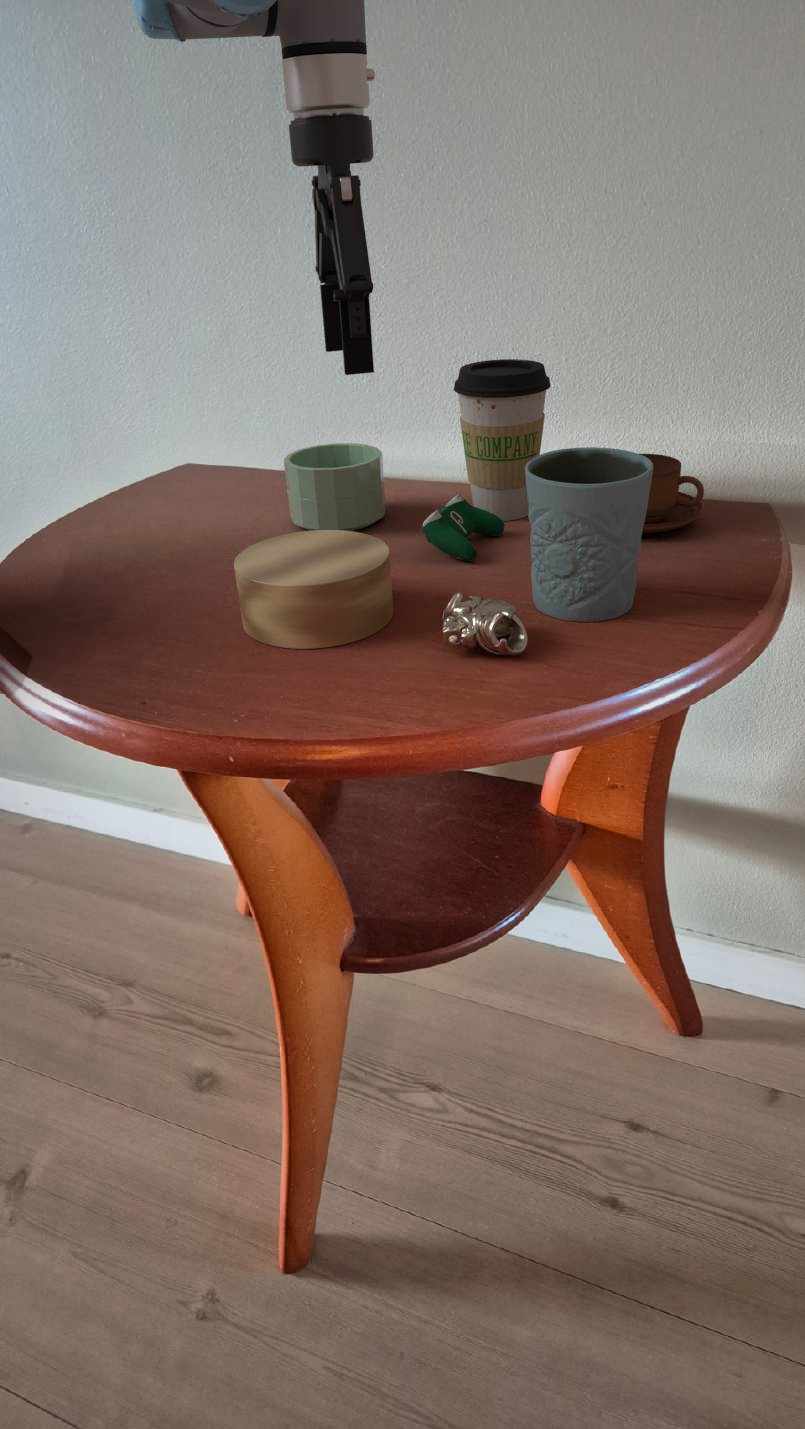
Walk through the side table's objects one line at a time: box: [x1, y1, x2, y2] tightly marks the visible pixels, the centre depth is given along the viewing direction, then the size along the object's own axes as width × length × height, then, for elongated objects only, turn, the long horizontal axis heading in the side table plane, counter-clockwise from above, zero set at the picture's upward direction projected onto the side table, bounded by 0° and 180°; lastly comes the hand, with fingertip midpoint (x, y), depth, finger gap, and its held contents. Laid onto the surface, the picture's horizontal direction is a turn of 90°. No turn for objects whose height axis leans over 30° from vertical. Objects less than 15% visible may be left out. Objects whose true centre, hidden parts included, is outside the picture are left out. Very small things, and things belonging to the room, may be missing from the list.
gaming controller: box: [421, 492, 505, 563], centre depth 98 cm, size 9×4×6 cm
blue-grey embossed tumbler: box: [525, 446, 653, 623], centre depth 82 cm, size 10×10×12 cm
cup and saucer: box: [639, 453, 705, 534], centre depth 100 cm, size 12×12×6 cm
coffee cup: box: [453, 358, 552, 522], centre depth 103 cm, size 10×10×15 cm
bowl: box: [283, 442, 387, 532], centre depth 106 cm, size 10×10×7 cm
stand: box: [233, 530, 394, 650], centre depth 84 cm, size 13×13×6 cm
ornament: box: [441, 592, 529, 657], centre depth 78 cm, size 8×7×4 cm
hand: (348, 361), depth 100 cm, fingers open, 13 cm apart
